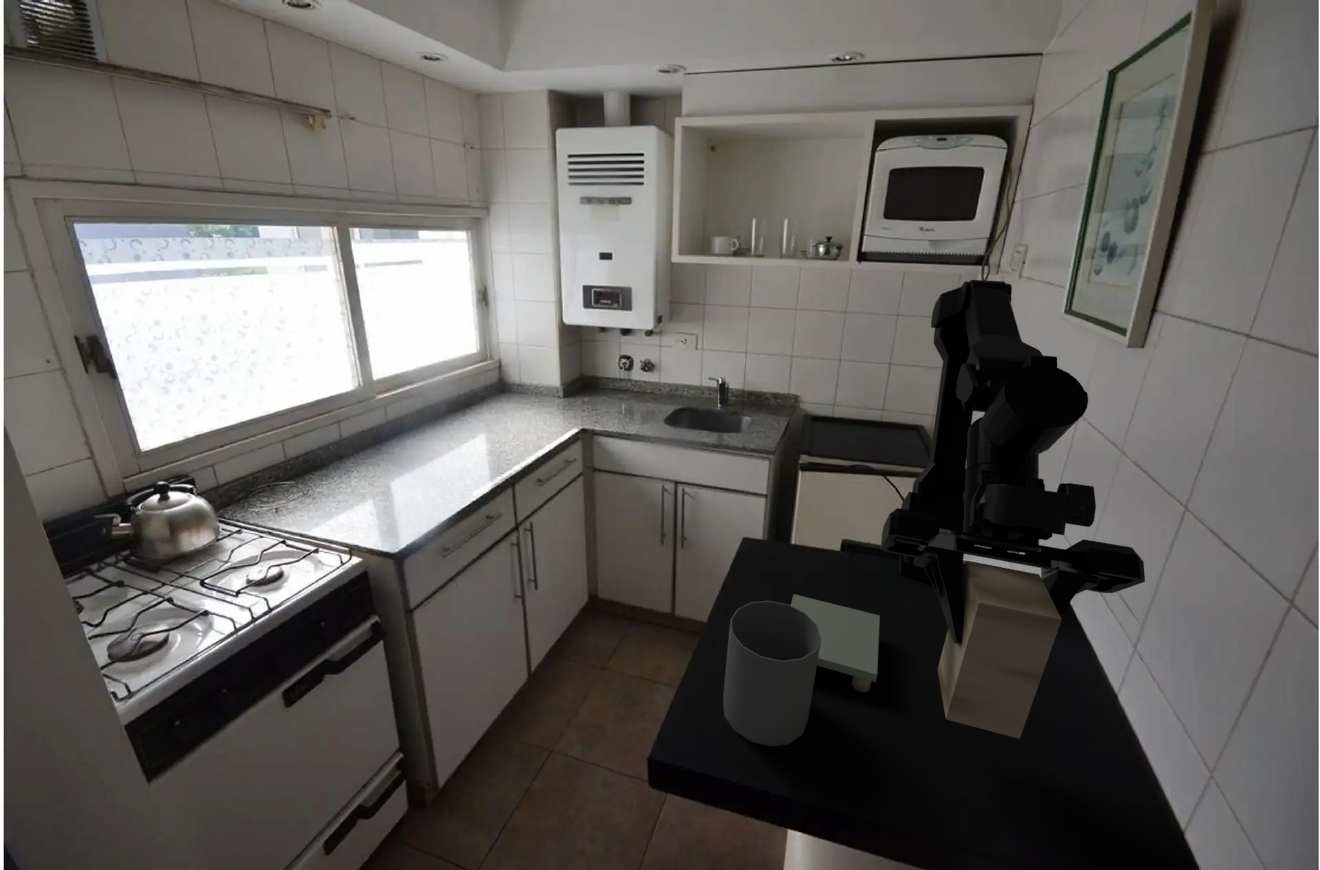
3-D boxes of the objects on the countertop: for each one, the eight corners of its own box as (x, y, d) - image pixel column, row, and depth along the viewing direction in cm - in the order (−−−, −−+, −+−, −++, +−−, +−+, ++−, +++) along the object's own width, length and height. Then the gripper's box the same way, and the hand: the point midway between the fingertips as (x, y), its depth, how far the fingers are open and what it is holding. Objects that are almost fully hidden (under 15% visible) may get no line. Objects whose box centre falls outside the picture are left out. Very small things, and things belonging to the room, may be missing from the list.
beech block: (937, 669, 53) (966, 560, 48) (1003, 685, 51) (1039, 574, 47) (945, 719, 47) (978, 602, 43) (1019, 738, 46) (1061, 619, 41)
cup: (715, 732, 53) (723, 648, 50) (729, 670, 61) (736, 594, 57) (806, 755, 51) (820, 670, 48) (809, 689, 59) (821, 610, 55)
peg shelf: (790, 614, 70) (793, 594, 69) (875, 636, 67) (879, 615, 66) (776, 668, 61) (778, 646, 60) (872, 697, 58) (877, 674, 57)
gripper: (907, 423, 47) (890, 611, 41) (1178, 457, 41) (1201, 679, 36) (888, 471, 57) (871, 628, 51) (1104, 504, 51) (1113, 684, 45)
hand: (997, 652), depth 45 cm, fingers closed on beech block, 5 cm apart
